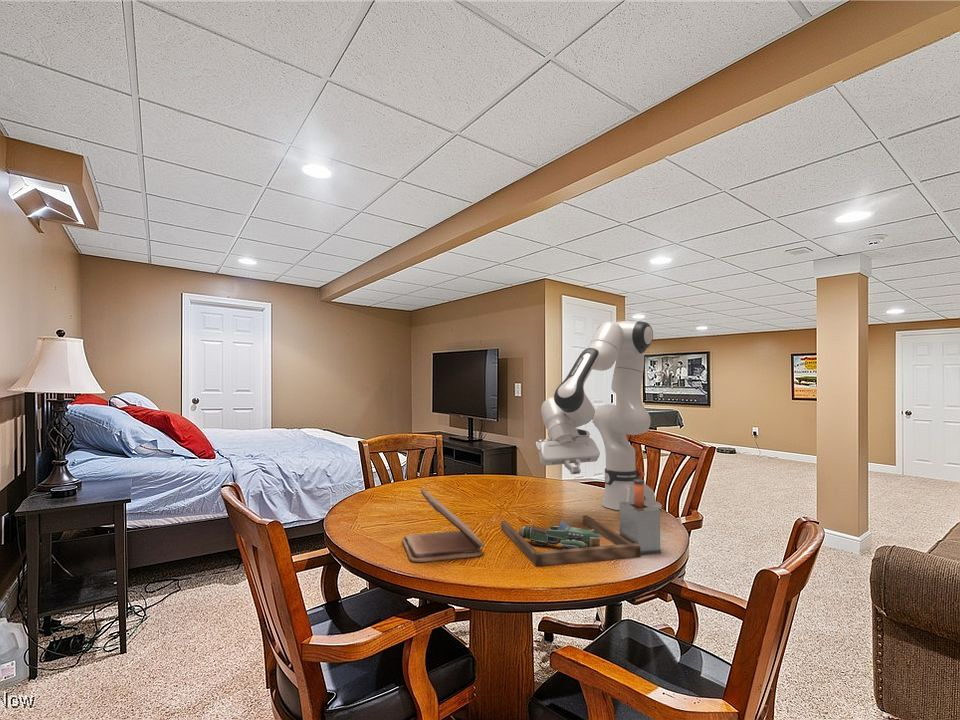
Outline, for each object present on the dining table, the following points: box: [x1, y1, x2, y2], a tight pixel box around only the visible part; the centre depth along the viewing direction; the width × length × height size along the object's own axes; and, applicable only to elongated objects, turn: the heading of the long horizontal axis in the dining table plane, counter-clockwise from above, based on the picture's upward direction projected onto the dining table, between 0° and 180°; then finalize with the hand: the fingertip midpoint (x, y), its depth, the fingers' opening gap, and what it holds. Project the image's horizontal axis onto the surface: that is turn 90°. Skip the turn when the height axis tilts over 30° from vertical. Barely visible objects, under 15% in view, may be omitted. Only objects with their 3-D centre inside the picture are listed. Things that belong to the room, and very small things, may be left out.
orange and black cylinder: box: [633, 479, 646, 508], centre depth 141 cm, size 3×3×8 cm
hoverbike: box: [517, 519, 601, 550], centre depth 140 cm, size 10×25×8 cm, turn 64°
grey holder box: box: [618, 502, 662, 556], centre depth 140 cm, size 7×10×12 cm
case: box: [401, 488, 485, 563], centre depth 140 cm, size 20×21×16 cm
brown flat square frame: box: [500, 514, 642, 567], centre depth 145 cm, size 30×32×3 cm
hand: (576, 473), depth 154 cm, fingers closed
